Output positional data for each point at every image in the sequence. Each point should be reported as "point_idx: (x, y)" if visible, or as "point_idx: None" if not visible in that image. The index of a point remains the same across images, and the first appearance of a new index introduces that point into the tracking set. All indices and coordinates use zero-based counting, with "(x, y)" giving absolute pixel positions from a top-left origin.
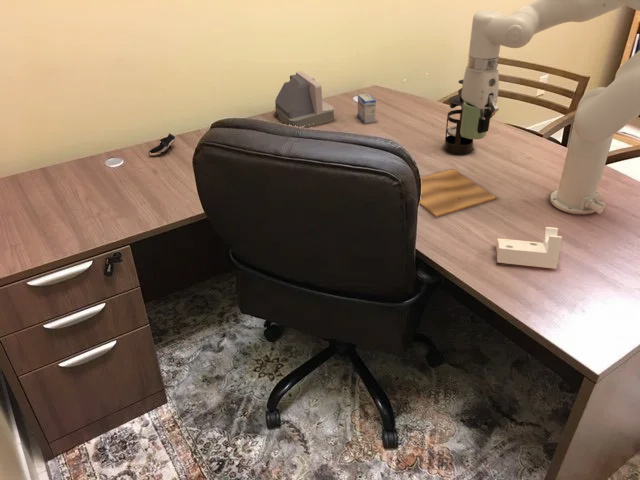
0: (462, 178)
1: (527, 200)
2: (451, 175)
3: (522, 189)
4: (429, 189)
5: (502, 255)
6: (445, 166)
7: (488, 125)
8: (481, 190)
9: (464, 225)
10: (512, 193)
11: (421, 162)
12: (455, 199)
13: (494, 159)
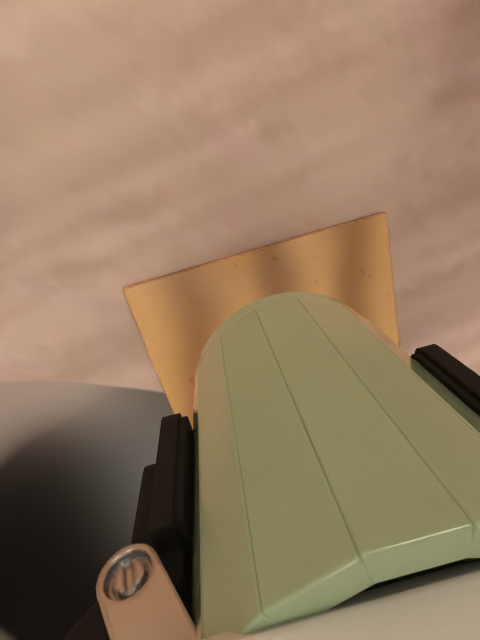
0: (213, 281)
1: (440, 85)
2: (179, 313)
3: (355, 54)
4: None
5: None
6: (81, 303)
7: (469, 374)
8: (323, 246)
9: (472, 364)
10: (369, 121)
11: (34, 379)
12: None
13: (22, 32)
